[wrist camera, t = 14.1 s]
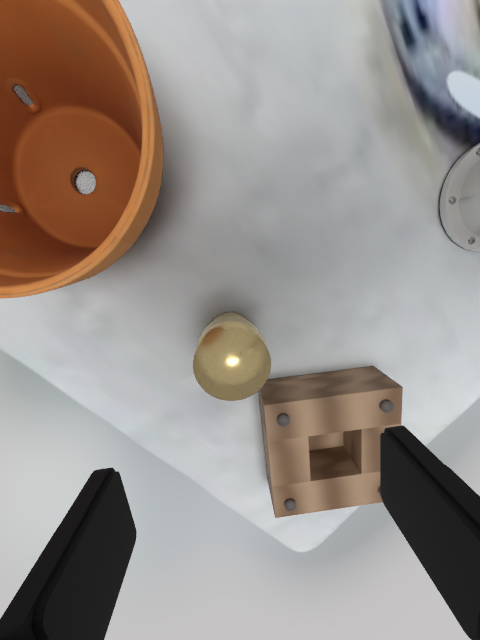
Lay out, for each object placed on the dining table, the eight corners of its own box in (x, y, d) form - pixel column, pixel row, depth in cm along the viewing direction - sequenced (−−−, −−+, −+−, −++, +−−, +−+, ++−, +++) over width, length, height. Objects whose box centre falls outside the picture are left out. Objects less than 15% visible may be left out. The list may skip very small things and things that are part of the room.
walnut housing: (373, 366, 36) (405, 389, 29) (372, 464, 40) (400, 503, 33) (257, 381, 35) (264, 407, 29) (267, 479, 39) (275, 521, 33)
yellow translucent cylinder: (254, 303, 33) (267, 323, 23) (259, 356, 34) (273, 395, 25) (198, 310, 33) (187, 333, 23) (206, 362, 34) (199, 405, 24)
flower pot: (109, 21, 26) (-38, -283, 11) (223, 219, 30) (222, 183, 16) (-60, 142, 27) (-383, 10, 13) (74, 312, 32) (-50, 357, 17)
